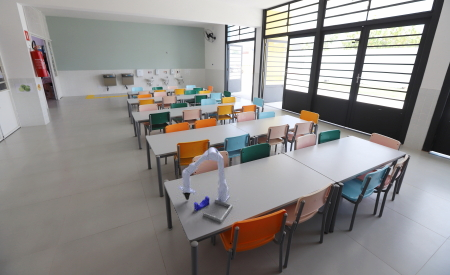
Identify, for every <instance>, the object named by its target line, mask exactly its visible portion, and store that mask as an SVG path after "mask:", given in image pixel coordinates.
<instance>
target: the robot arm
mask: <svg viewBox="0 0 450 275" xmlns="http://www.w3.org/2000/svg"><path fill="white" fill-rule="evenodd" d="M205 161H214V162H217V172H218V181H217V183H218V188H217V198H215V199H216V200H220V201H223V202H226V203H227V201H228V199H230V190H229V189H230V188H229V187H228V184H227V180H226V174H225V164H224V163H225V162H224V157H223V155H222V154H221V153H220V151H219V150H218V149H217V148H216V147H213V146H212V147H209V148H207V150H205V151H204V153H203V154H202V155H201V156H200V157H199V158H198V159H197V160H196V161H195V162H191V163H189V164H188V166H187V167H185V168H184V169H183V170H182V172H181V173H182V174H181V178H182V186H181V185H179V186H178V190H179V191H182V194H183V196H184V197H185V200H186V201H189V199H190V196H191V194H193V195H196V194H197V192H196V190H194V189H193V188H191V184H192V183H191V175H192V174H193V173H194V172H196V170H198V168H199V166H200V165H201V164H202V163H204V162H205Z"/></svg>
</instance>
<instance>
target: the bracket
mask: <svg viewBox="0 0 450 275" xmlns="http://www.w3.org/2000/svg"><path fill="white" fill-rule="evenodd" d="M216 199H217V198H215V199H214V204H217V205H221V206H224V207H226V208H227V207H228V208H227V209H226V211H225V213H224V214H223V215H222V216H221V217H218V216H215V215H212V214H210V213H207V212H203V213H202V216H203V217H205V218H208V219H209V220H213V221H216V222H217V223H223V221H224V220H225V218H226V217H227V215H228V214H229V213H230V212H231V210H232V209H233V204H231V203H228V202H227V201H226V202H223V201H220V200H216Z"/></svg>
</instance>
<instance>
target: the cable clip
mask: <svg viewBox="0 0 450 275" xmlns="http://www.w3.org/2000/svg"><path fill="white" fill-rule="evenodd" d="M208 205H210V197H209V196H208V195H207V196H205V197H204V199H202V201H201V202H200V203H198V202H197V201H195V202H194V203H193V208H194V210H195V211H196V212H198V211H199V210H202V209H204V208H205V207H207V206H208Z"/></svg>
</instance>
